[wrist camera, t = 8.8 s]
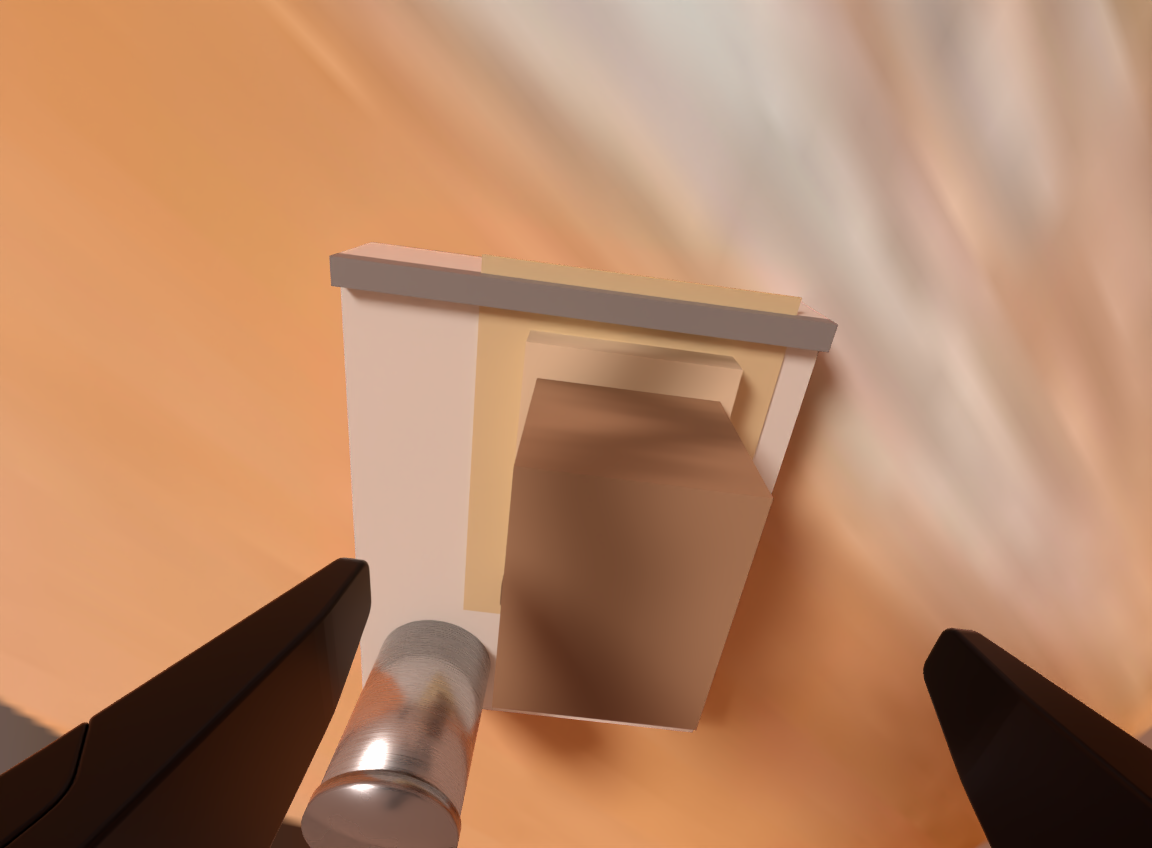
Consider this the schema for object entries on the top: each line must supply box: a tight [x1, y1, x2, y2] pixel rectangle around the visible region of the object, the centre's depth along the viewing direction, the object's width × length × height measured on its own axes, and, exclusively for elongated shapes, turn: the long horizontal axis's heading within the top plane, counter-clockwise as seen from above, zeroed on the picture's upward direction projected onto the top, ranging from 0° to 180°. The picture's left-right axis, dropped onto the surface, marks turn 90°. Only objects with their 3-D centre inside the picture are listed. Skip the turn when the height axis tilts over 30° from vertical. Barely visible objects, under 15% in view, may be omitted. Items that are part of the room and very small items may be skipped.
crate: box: [492, 330, 773, 730], centre depth 15 cm, size 6×9×6 cm, turn 173°
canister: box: [301, 620, 491, 848], centre depth 19 cm, size 5×5×6 cm
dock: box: [329, 242, 838, 732], centre depth 20 cm, size 14×18×3 cm
